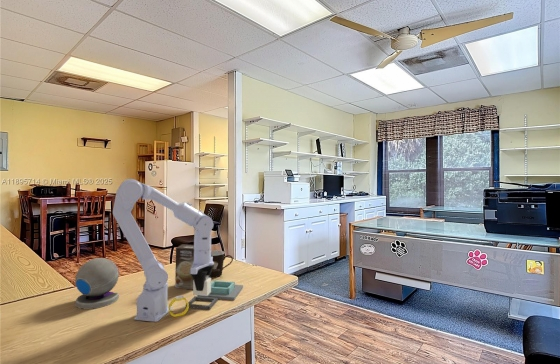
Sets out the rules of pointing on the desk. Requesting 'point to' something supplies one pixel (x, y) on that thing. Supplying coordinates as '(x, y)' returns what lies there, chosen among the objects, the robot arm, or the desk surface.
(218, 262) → the coffee mug
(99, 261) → the webcam
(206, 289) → the plug
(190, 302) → the tray
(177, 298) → the watch
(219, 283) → the dock
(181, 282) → the coffee box
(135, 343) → the desk surface
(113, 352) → the desk surface
